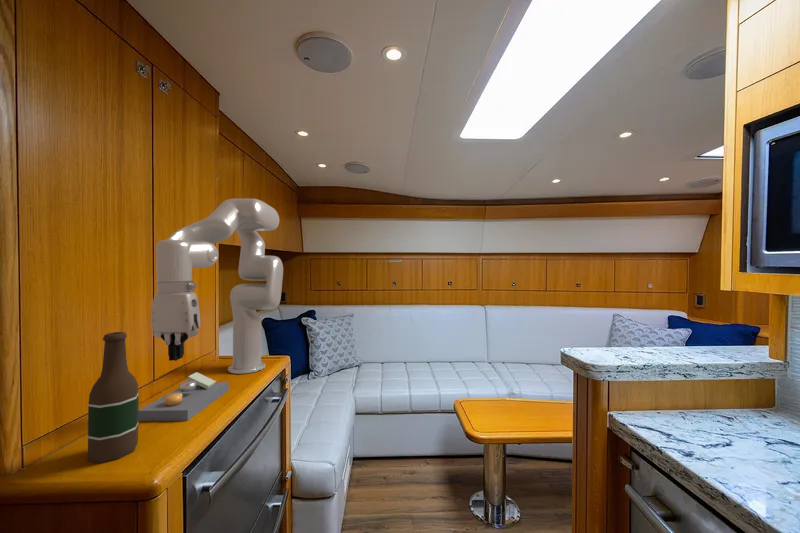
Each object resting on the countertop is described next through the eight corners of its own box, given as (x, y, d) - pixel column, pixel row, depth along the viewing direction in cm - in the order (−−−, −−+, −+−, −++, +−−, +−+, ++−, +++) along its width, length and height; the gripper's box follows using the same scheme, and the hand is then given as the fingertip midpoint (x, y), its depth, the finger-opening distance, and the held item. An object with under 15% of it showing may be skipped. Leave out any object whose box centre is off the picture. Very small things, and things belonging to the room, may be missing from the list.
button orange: (171, 399, 86) (171, 393, 86) (185, 399, 86) (185, 392, 86) (161, 405, 82) (161, 398, 82) (176, 405, 82) (176, 398, 82)
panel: (188, 390, 100) (188, 379, 100) (228, 390, 100) (228, 379, 100) (137, 421, 80) (137, 406, 80) (187, 420, 80) (187, 406, 80)
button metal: (185, 387, 92) (185, 380, 92) (198, 387, 92) (198, 380, 92) (177, 391, 88) (177, 385, 88) (190, 391, 88) (190, 385, 88)
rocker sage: (195, 375, 98) (196, 372, 98) (214, 384, 98) (216, 381, 98) (186, 379, 94) (188, 376, 94) (207, 389, 94) (208, 386, 94)
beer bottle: (92, 469, 61) (93, 338, 61) (83, 454, 65) (84, 333, 66) (144, 450, 67) (145, 332, 67) (132, 438, 72) (133, 328, 72)
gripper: (212, 286, 89) (213, 354, 89) (156, 287, 88) (157, 355, 89) (195, 289, 81) (197, 363, 81) (134, 289, 81) (135, 364, 81)
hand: (176, 358), depth 85 cm, fingers closed
